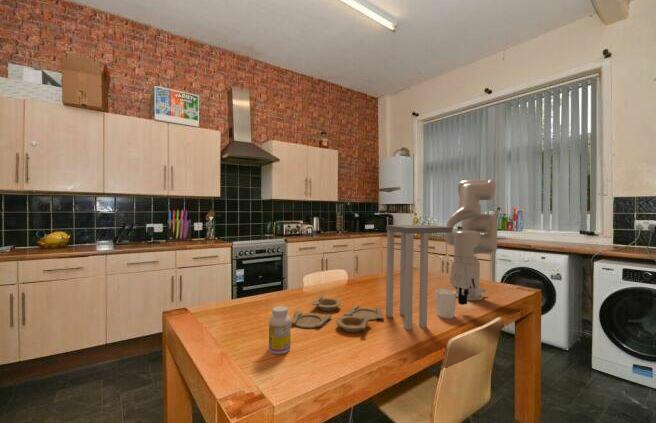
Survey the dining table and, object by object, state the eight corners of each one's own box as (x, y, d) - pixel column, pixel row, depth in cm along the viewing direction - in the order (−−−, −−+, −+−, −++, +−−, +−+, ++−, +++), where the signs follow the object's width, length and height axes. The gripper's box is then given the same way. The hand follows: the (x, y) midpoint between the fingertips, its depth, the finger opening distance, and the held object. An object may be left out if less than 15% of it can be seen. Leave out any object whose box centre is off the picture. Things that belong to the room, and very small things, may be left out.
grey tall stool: (425, 310, 128) (427, 224, 127) (450, 323, 114) (452, 227, 113) (384, 315, 121) (386, 225, 121) (406, 330, 107) (407, 228, 107)
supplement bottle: (269, 345, 95) (270, 305, 94) (290, 344, 95) (291, 304, 95) (267, 355, 88) (267, 312, 88) (290, 354, 88) (290, 312, 88)
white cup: (452, 312, 126) (452, 289, 126) (458, 319, 118) (459, 294, 118) (433, 311, 127) (433, 288, 126) (438, 318, 119) (438, 293, 119)
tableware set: (281, 326, 111) (281, 315, 111) (312, 302, 138) (312, 293, 138) (374, 341, 99) (375, 329, 99) (388, 312, 126) (388, 303, 126)
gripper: (443, 257, 131) (442, 299, 130) (470, 263, 116) (469, 310, 116) (457, 257, 133) (456, 298, 133) (485, 262, 119) (484, 308, 119)
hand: (462, 303), depth 125 cm, fingers closed
